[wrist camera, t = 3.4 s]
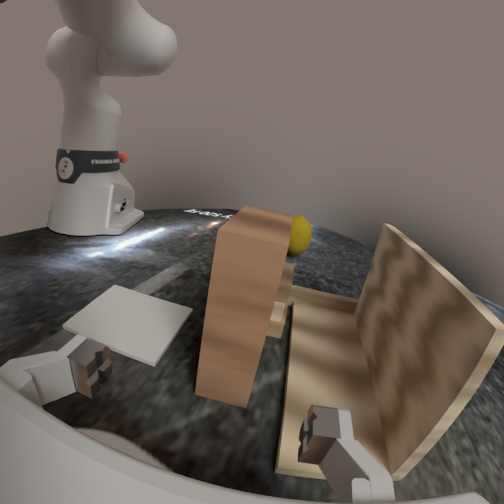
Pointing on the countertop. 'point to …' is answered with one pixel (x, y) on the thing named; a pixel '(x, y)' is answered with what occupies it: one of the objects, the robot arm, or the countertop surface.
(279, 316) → the offcut stack
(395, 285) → the rack
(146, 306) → the pad
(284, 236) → the oak board
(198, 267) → the countertop surface
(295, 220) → the lemon
